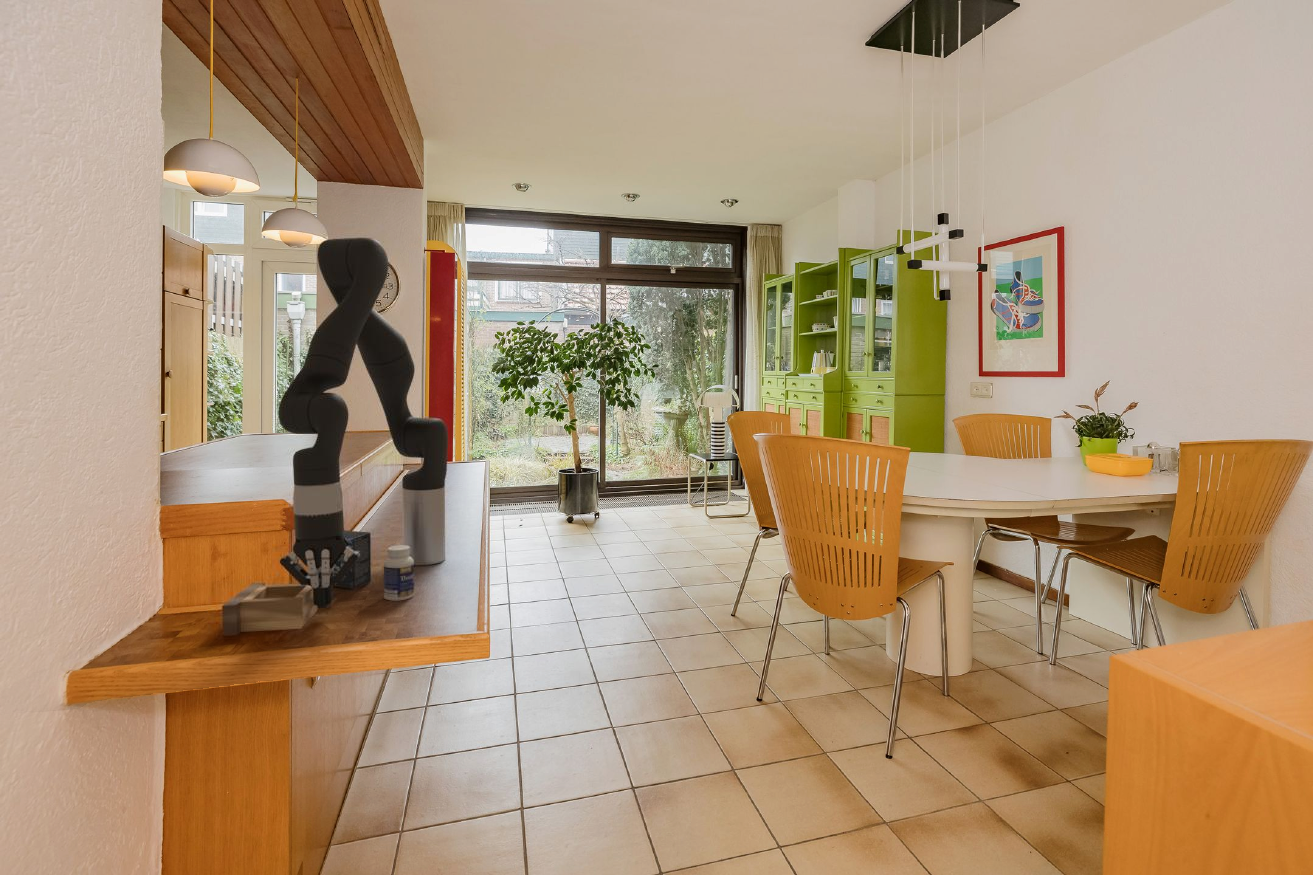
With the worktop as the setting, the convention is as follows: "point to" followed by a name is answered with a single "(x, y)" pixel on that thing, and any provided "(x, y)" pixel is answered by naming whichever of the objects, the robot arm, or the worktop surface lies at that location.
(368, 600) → the worktop surface
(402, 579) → the pill bottle
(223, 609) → the plank
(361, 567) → the box
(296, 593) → the light brown wooden tray
